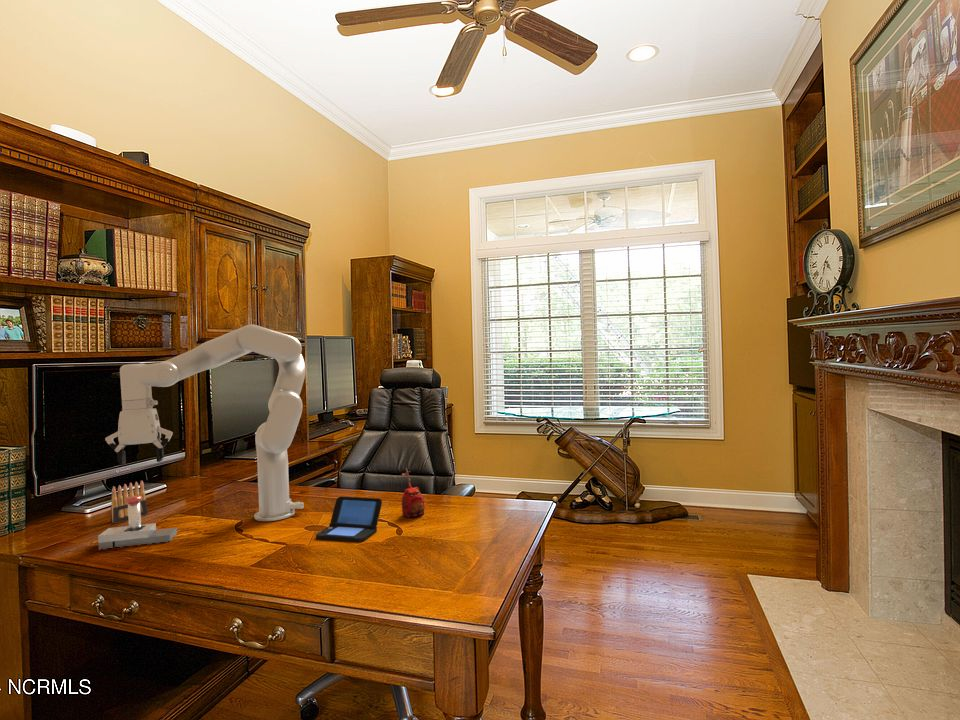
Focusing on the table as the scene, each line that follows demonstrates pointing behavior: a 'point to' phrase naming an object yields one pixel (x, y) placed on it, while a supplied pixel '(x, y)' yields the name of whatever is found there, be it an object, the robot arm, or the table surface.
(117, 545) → the chain link
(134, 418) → the robot arm
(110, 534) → the chain link
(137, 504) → the pin
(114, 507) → the ammunition clip
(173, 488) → the table surface
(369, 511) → the game console
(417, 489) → the red clay folk toy
